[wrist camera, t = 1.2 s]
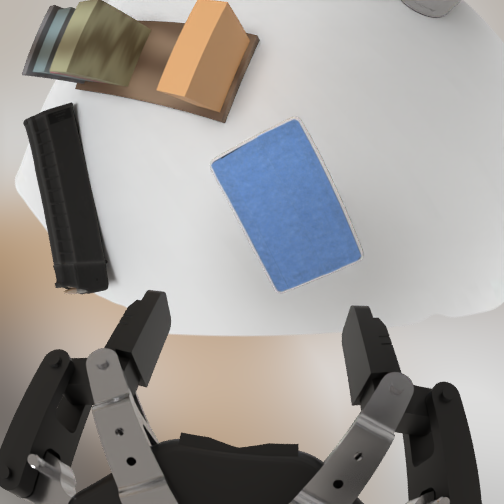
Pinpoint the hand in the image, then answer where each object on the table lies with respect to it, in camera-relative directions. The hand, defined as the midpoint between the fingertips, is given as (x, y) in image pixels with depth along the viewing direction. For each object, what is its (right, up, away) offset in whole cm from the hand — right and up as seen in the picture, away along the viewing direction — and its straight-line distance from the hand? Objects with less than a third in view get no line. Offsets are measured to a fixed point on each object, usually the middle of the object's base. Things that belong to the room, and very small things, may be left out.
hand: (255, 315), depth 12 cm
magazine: (-26, +12, +27) cm, 40 cm away
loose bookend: (-3, +24, +16) cm, 29 cm away
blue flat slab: (+4, +8, +22) cm, 24 cm away
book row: (-13, +29, +18) cm, 36 cm away
